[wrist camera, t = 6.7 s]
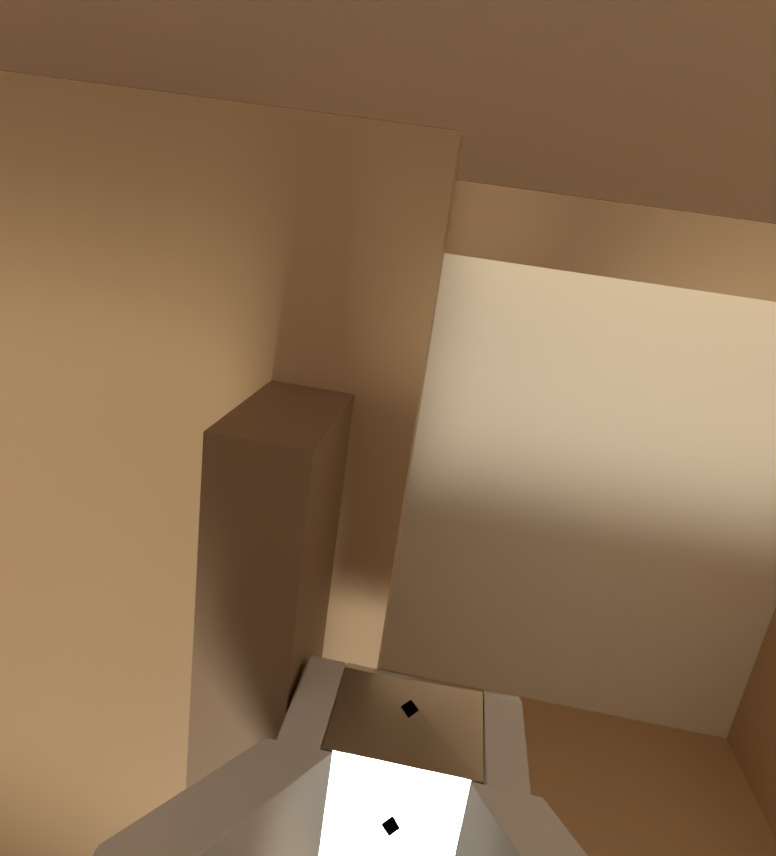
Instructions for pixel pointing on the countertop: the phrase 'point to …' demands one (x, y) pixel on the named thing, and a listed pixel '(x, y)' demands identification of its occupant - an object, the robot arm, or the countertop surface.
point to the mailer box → (604, 510)
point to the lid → (195, 427)
